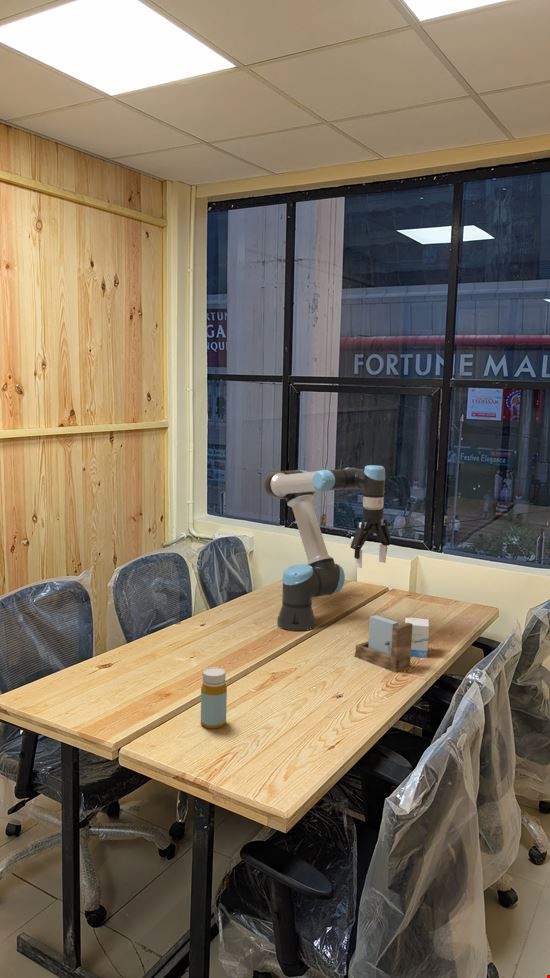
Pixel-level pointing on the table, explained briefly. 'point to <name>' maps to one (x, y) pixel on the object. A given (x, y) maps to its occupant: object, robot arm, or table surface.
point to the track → (398, 653)
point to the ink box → (419, 636)
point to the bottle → (213, 698)
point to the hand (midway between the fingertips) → (370, 564)
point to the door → (381, 634)
